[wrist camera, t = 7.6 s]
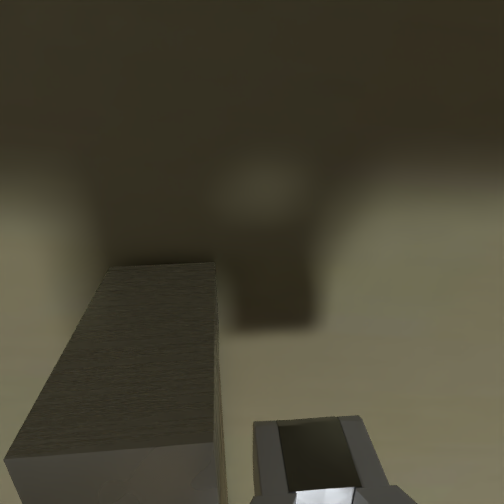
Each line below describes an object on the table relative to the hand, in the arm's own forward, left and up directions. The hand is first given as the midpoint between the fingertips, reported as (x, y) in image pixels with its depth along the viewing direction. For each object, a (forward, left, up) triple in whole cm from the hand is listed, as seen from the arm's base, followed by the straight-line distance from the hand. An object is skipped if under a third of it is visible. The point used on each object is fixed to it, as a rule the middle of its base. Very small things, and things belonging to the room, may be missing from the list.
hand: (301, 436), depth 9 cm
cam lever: (+6, +2, -2) cm, 6 cm away
